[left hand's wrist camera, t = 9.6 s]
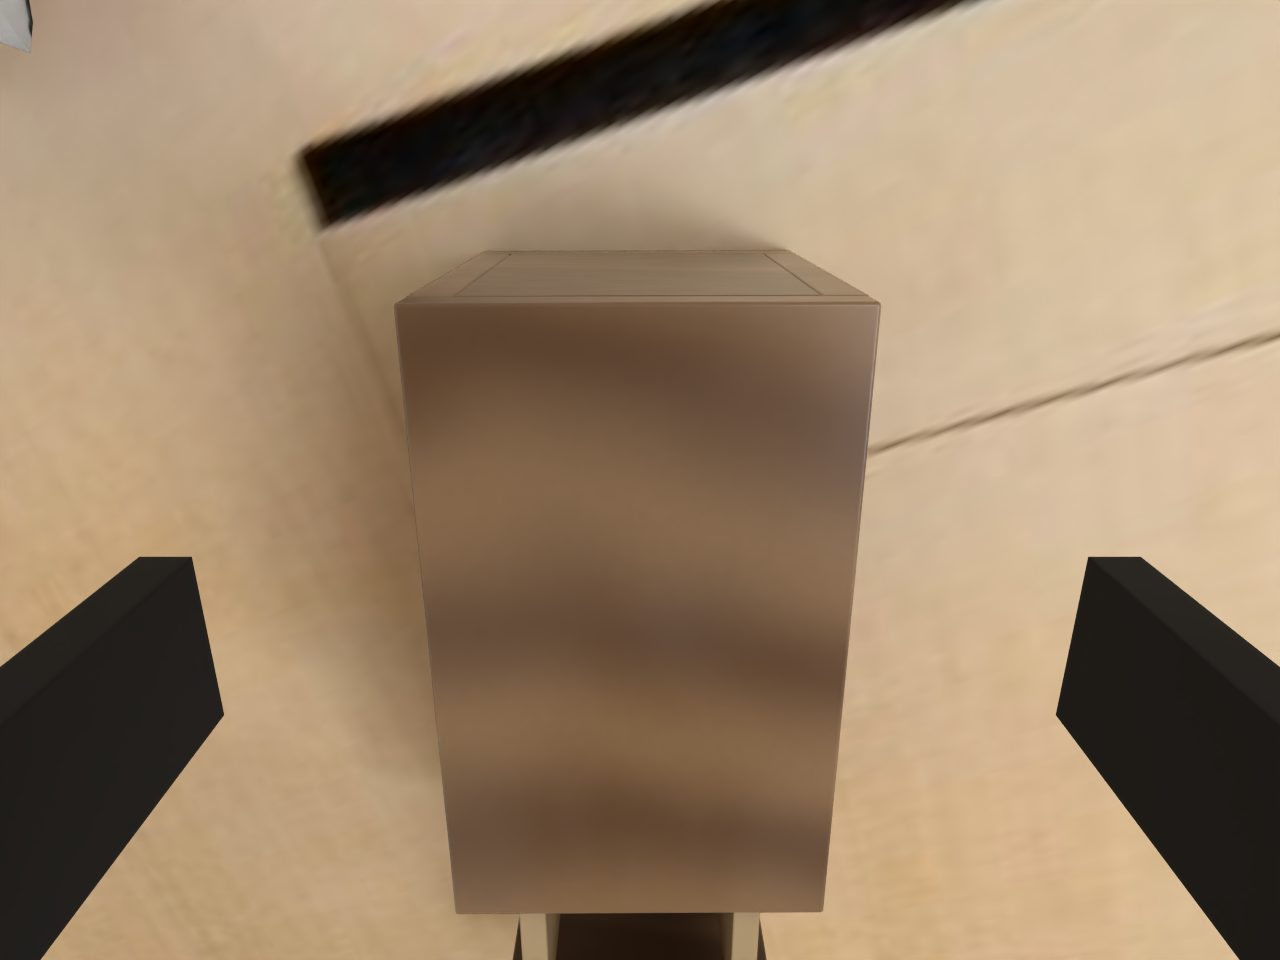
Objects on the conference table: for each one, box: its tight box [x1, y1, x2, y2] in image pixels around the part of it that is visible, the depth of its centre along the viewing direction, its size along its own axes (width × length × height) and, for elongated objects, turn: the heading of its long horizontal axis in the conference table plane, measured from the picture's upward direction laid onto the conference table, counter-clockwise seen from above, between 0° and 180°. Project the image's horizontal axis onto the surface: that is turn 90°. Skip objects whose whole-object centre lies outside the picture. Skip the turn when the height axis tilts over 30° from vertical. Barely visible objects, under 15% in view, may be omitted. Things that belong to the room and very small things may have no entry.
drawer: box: [513, 912, 766, 960], centre depth 30 cm, size 21×9×9 cm, turn 0°
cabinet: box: [394, 250, 881, 914], centre depth 26 cm, size 17×10×11 cm, turn 0°
